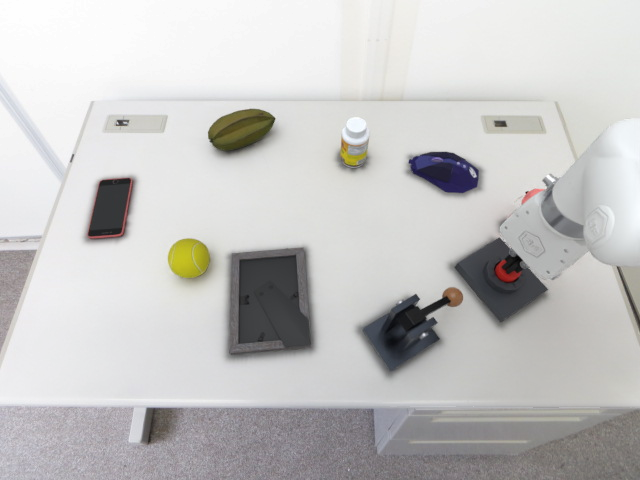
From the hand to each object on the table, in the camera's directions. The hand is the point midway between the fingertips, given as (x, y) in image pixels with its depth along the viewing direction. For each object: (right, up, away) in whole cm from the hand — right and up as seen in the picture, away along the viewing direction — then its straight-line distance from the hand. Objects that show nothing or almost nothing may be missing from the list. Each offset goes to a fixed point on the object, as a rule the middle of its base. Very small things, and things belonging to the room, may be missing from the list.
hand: (511, 266), depth 63 cm
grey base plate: (0, -3, +5) cm, 6 cm away
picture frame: (-41, -6, +4) cm, 42 cm away
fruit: (-49, +27, +21) cm, 60 cm away
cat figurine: (+6, +7, +10) cm, 14 cm away
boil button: (0, -1, +2) cm, 2 cm away
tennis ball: (-55, 0, +7) cm, 56 cm away
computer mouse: (-6, +19, +17) cm, 26 cm away
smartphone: (-74, +11, +13) cm, 76 cm away
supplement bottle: (-25, +22, +19) cm, 38 cm away
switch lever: (-15, -7, -4) cm, 17 cm away
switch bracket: (-18, -12, +1) cm, 22 cm away
